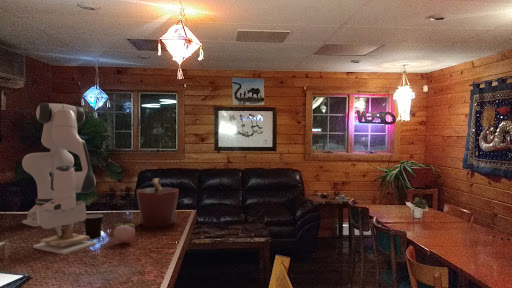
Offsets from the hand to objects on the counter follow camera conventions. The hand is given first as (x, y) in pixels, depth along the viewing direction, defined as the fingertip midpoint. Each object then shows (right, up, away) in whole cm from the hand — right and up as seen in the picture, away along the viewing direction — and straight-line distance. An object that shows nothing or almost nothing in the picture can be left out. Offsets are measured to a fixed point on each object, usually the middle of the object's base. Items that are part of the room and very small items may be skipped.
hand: (64, 234), depth 171 cm
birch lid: (0, -3, 0) cm, 3 cm away
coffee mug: (+6, -5, +17) cm, 19 cm away
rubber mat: (0, -5, 0) cm, 5 cm away
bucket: (+29, -4, +44) cm, 53 cm away
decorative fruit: (+25, -5, +4) cm, 26 cm away
